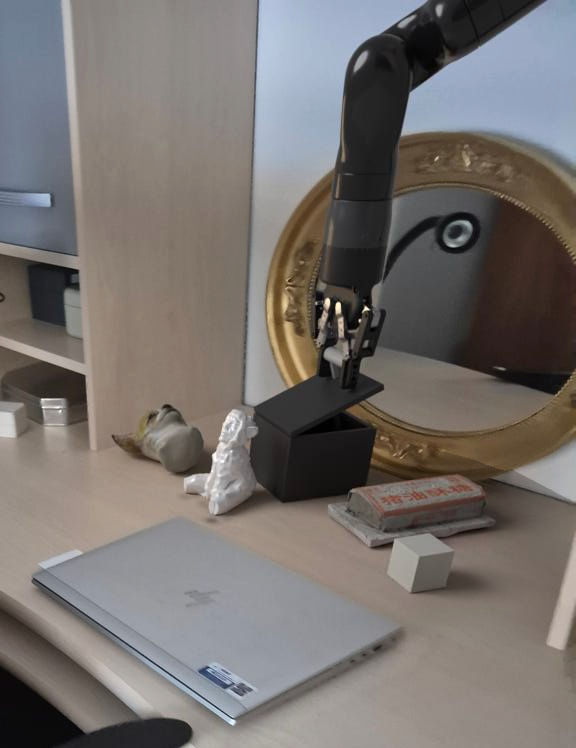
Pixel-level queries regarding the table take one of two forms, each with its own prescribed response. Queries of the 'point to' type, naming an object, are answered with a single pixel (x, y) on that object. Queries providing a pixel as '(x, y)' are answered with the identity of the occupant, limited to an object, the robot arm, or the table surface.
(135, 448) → the ceramic sculpture
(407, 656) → the table surface
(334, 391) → the box lid
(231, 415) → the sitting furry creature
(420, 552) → the off-white matte cube
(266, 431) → the open hinged box
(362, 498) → the packaged product
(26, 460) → the table surface
